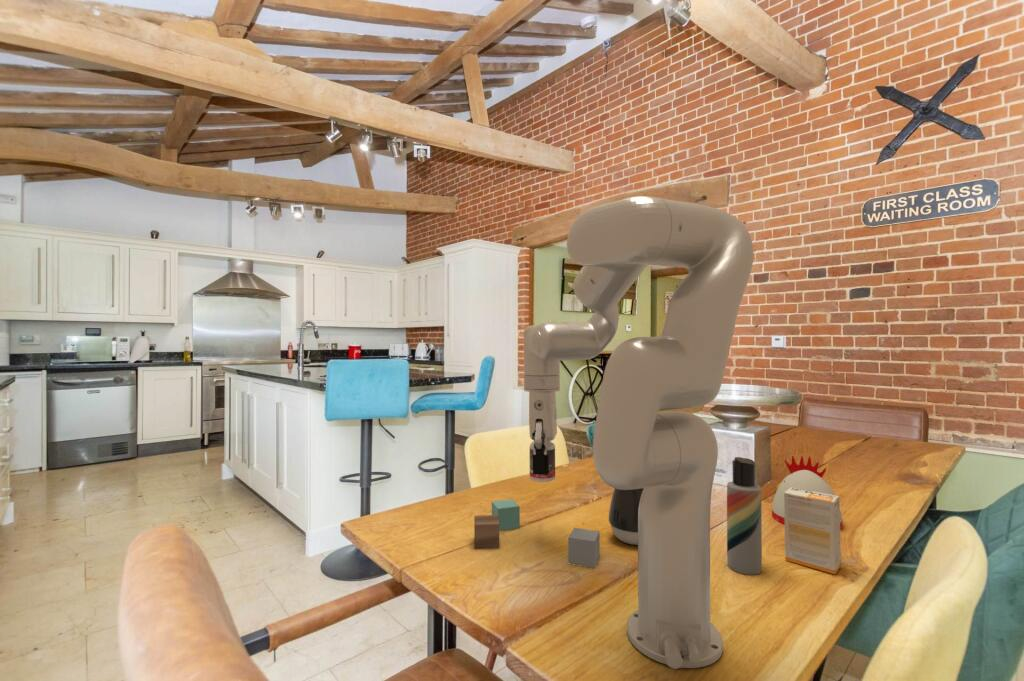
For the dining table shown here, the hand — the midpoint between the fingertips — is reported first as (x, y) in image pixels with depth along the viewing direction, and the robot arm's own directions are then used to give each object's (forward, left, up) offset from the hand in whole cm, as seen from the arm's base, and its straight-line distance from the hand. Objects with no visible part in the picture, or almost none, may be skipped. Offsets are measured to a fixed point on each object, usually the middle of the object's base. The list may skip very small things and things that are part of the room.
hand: (542, 469), depth 99 cm
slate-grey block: (-8, -9, -15) cm, 19 cm away
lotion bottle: (-6, -38, -15) cm, 41 cm away
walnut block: (-4, +11, -15) cm, 19 cm away
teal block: (+6, +9, -15) cm, 19 cm away
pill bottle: (0, 0, -2) cm, 2 cm away
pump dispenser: (+3, -19, -15) cm, 24 cm away
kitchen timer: (+21, -59, -15) cm, 64 cm away
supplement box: (-2, -51, -15) cm, 53 cm away
